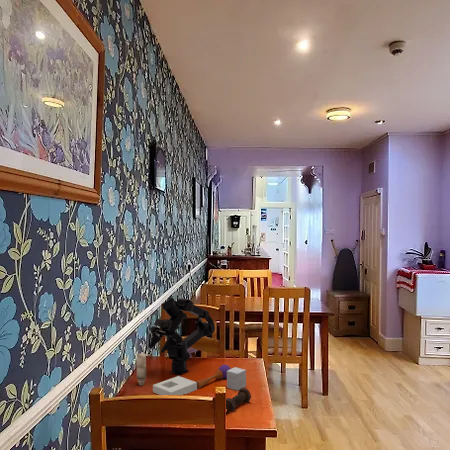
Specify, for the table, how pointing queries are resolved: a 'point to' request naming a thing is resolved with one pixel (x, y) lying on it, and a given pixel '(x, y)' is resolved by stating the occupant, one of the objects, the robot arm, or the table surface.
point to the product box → (236, 378)
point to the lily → (191, 351)
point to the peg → (141, 368)
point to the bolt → (238, 399)
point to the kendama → (219, 374)
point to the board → (175, 386)
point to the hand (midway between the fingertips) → (155, 350)
